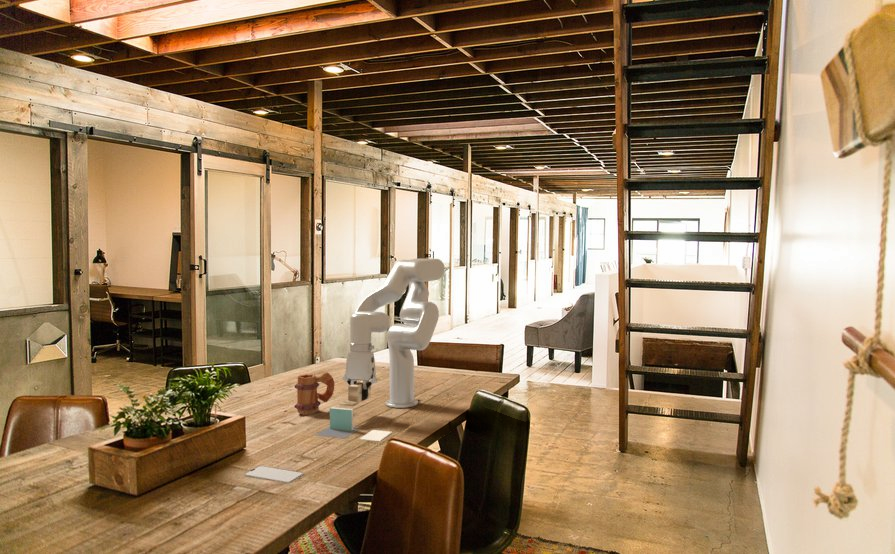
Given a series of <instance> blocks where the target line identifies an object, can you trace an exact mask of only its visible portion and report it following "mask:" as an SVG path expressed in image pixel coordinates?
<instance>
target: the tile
mask: <svg viewBox="0 0 895 554" xmlns="http://www.w3.org/2000/svg"><path fill="white" fill-rule="evenodd" d="M329 426H330V429H336V430H346V431H352V430H353V427H354V409H353V408H347V407H346V408H345V407H333V406H332V407H329Z"/></svg>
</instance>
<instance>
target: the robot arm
mask: <svg viewBox="0 0 895 554" xmlns="http://www.w3.org/2000/svg"><path fill="white" fill-rule="evenodd" d="M445 269H446V267H445V264H444V262H443V261H442V260H441V259H439V258H412V259H401V260H398V261H396V262H395V263H394V264H393V266H392V268H391V270H390V272H389V273H388V275H387V276H386V278H385V280H384V281H383V283H382V285H381V286H380V287H379V288H378V289H376V290H374V291H373V292H372V293H370V294H369V295H367V296H366V297H365V298H363V299H362V301H361V302H360V303H359V305H358V307H357V308H356V311H355V312H354V313H353V314H351V315H350V316H349V317H350V319H349V351H348V352H347V355H346V361H345V362H346V363H345V373H344V375H343V377H342V380H343V381H345V383H347V384H348V385H349V386H351V385H353V384H356V383H358V381H363V389H362V400H363V401H362V402H364V401H366V400H368V399H367V397H368V388H369V387H370V386H371V387H372V385H374V384H376V383H378V378H377V377H376V360H375V354H374V352H373V351H372V350H375V346H374V345H373V344H372V333H379V334H380V333H385V332H386V342H387V346H388V354H389V357H388V358H389V398H388V399H387V400H385V405H386V406H387V407H390V408H396V409H398V408H399V409H401V408H402V409H406V408H411V407H412V408H413V407H416V406H417V405H418V404H419V401H418V400H417V399H416V398H415V394H416V390H415V377H414V376H415V372H414V371H415V370H414V369H415V366H414V365H415V360H414V356H413V353H412V350H414V351H424V350H425V349H427V348H428V346H429V344H430V343H431V340H432V337H433V335H434V332H435V329H436V327H437V324H438V321H439V315H440V313H439V307H438V306H437V304H435V303H434V302H432V301H428V299H429V295H430V293H429V288H428V285H427V284H426V283H425V282H433V281H437V280H438V281H439V280H441V278H443V276H444V274H445V271H446V270H445ZM407 288H408V291H407V294H406V297H405V299H404V301H403V304H402V306H401V308H400V312H399V319H400V321H401V322H402V323H394V324H393V325H391V319H390V316H389V315H388V314H387V313H384V312H381V311H377V310H378V309H379V308H382V307H384V306H387V305H389V304H392V303H395V302H398V301H399V300H400V299H402V296H403V295H404V294H405V293H404V292H405V291H406V289H407ZM369 381H370V382H369Z"/></svg>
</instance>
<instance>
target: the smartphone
mask: <svg viewBox="0 0 895 554" xmlns="http://www.w3.org/2000/svg"><path fill="white" fill-rule="evenodd" d="M304 475H305V473H304V472H302V471H301V472H300V471H295V470H290V469H283V468H277V467H273V466H272V467H271V466H266V465H259V466H256V467H254V468H253V469H250V470H249V471H246V472H245V473H244V474H243V476H245V477H248V478H255V479H260V480H261V479H262V480H266V481H273V482H278V481H279V482H278V483H285V484H289V483H292V482H294V481H295V480H297V479H299V478H300V477H302V476H304Z"/></svg>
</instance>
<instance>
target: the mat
mask: <svg viewBox="0 0 895 554" xmlns="http://www.w3.org/2000/svg"><path fill="white" fill-rule="evenodd" d="M360 429H361V427H356V426H353V430H352V431H346V430H336V429H330V425H329V426H328V427H326V428H324V429H323V430H321V431H319V432H317V433H315V434H314V436H318V437H326V438H335V439H336V438H338V439H346V438H348V437H349V436H351V435H353V434H354V433H356V432H357V431H358V430H360Z"/></svg>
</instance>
